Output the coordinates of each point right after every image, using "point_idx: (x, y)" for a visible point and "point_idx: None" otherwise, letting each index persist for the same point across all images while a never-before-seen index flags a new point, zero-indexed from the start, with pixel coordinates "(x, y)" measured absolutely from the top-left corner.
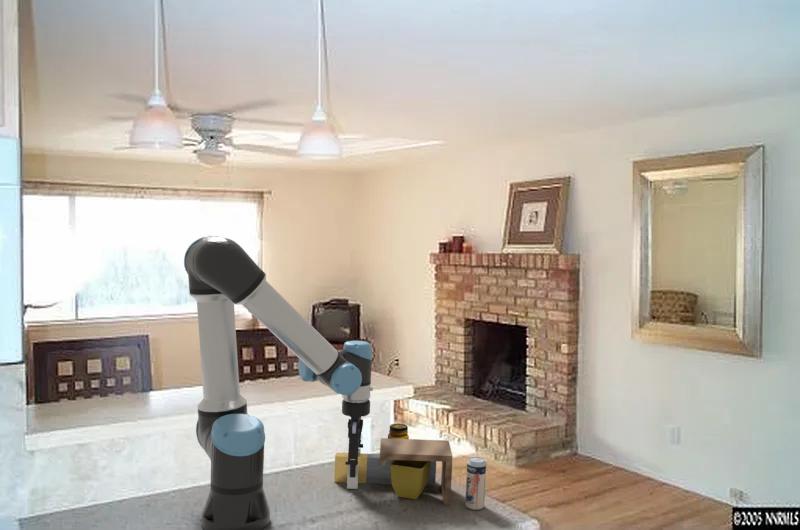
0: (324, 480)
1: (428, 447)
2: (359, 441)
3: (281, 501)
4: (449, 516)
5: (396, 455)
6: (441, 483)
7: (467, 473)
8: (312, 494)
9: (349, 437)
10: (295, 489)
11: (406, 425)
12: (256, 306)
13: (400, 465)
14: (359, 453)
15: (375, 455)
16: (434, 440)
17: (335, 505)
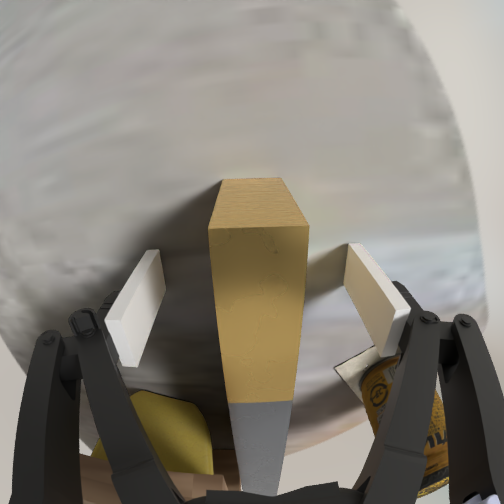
0: (239, 127)
1: None
2: (390, 395)
3: (14, 37)
4: (95, 436)
5: None
6: (230, 458)
7: None
8: (69, 114)
9: (14, 473)
10: (111, 26)
11: (427, 494)
12: None
13: (200, 458)
14: (293, 371)
15: (265, 424)
16: None
17: (17, 226)
